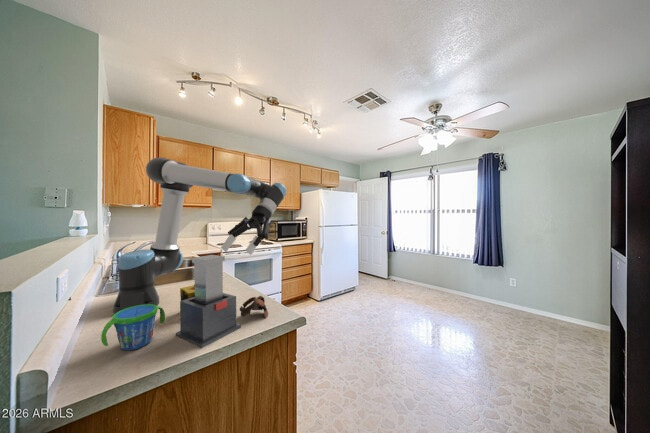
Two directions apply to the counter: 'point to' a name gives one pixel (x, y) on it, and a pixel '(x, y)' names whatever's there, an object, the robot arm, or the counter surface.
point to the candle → (187, 292)
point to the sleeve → (207, 320)
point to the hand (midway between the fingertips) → (235, 251)
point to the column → (208, 279)
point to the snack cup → (134, 326)
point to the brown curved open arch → (254, 306)
